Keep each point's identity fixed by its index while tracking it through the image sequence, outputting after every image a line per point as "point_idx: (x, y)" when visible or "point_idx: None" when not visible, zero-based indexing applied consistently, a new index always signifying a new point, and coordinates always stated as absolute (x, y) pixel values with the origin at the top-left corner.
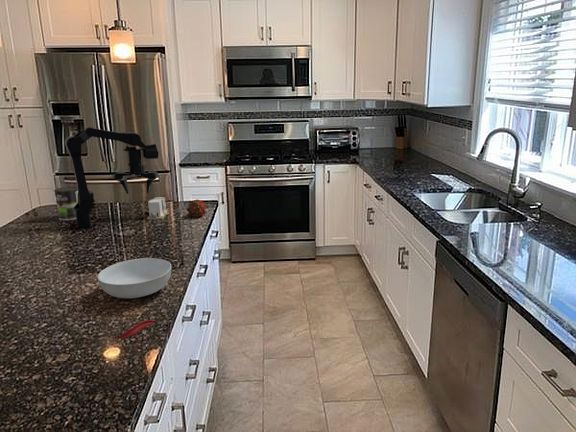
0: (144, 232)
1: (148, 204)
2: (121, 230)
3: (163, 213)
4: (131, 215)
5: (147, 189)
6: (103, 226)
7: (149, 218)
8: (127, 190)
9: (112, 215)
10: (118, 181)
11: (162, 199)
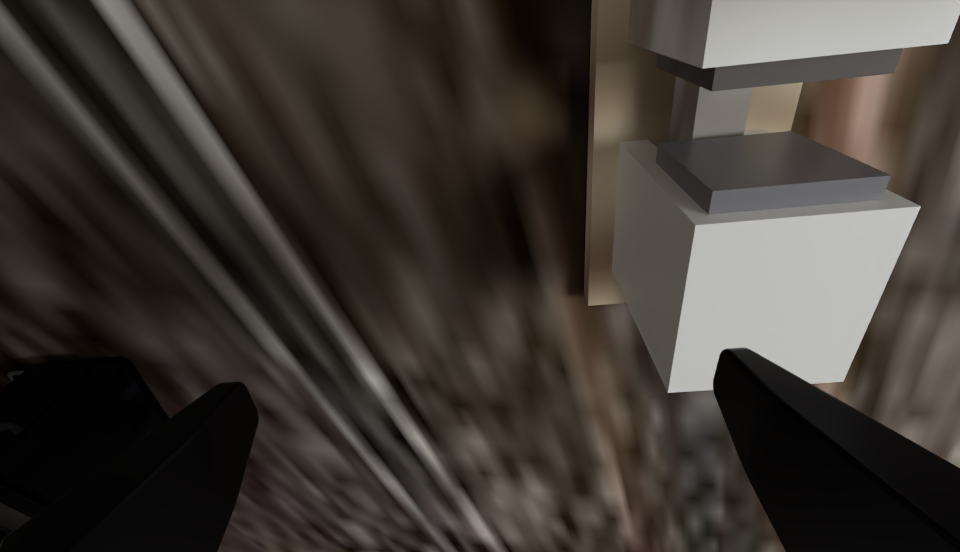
0: (618, 519)
1: (659, 370)
2: (454, 486)
3: (771, 127)
4: (323, 72)
5: (788, 519)
6: (266, 412)
7: (613, 301)
8: (223, 513)
9: (48, 46)
10: None
11: (948, 13)
